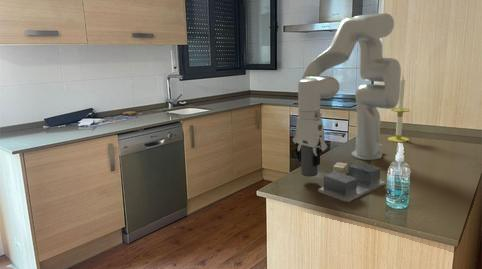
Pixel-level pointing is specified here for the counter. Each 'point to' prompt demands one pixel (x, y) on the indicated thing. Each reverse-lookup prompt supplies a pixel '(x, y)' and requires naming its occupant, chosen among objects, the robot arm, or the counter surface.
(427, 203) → the counter surface
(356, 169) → the board
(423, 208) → the counter surface
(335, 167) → the loose block
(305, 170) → the bottle
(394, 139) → the candle
